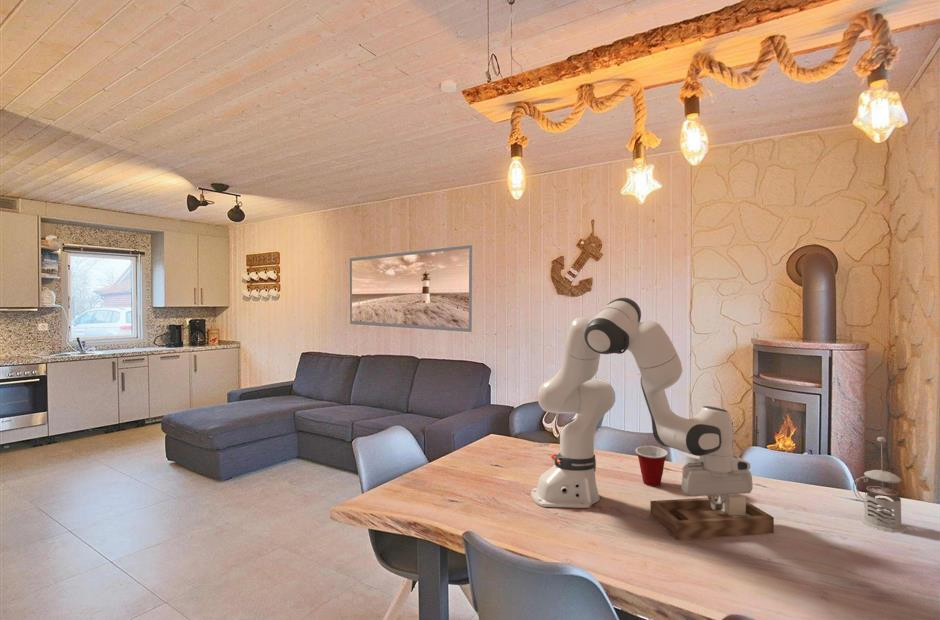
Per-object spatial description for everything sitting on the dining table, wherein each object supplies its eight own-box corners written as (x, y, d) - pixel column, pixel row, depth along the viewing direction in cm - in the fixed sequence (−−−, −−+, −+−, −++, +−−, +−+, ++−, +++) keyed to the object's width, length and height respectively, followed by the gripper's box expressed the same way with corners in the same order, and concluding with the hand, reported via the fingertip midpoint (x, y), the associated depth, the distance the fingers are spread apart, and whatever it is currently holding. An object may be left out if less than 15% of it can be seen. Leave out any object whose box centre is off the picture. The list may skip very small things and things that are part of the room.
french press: (897, 535, 127) (895, 443, 127) (846, 519, 137) (845, 433, 137) (913, 527, 131) (911, 438, 131) (863, 512, 141) (861, 429, 142)
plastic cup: (635, 487, 164) (634, 453, 164) (636, 476, 174) (635, 444, 174) (668, 491, 160) (668, 456, 160) (667, 480, 170) (667, 447, 170)
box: (677, 539, 126) (677, 523, 126) (650, 515, 141) (650, 500, 141) (773, 533, 129) (773, 517, 129) (737, 510, 144) (737, 496, 144)
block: (729, 515, 135) (729, 498, 135) (718, 508, 140) (719, 491, 140) (745, 515, 136) (746, 498, 136) (734, 508, 141) (734, 491, 141)
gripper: (688, 466, 133) (689, 515, 133) (755, 463, 135) (756, 511, 135) (676, 459, 140) (677, 506, 140) (741, 457, 142) (742, 502, 141)
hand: (717, 508), depth 137 cm, fingers closed
